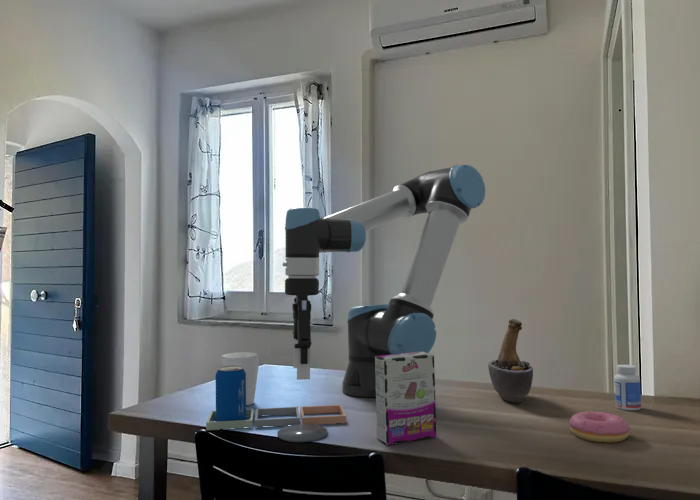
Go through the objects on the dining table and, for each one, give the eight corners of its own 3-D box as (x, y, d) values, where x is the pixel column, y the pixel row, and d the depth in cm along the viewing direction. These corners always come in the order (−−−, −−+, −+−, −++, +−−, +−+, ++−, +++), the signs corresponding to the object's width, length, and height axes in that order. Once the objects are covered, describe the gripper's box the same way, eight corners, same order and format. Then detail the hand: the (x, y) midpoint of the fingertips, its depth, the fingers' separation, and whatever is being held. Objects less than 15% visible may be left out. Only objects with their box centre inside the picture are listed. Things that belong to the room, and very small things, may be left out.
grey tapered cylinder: (250, 408, 134) (250, 358, 134) (215, 407, 136) (215, 357, 136) (264, 399, 143) (263, 352, 143) (230, 398, 144) (230, 351, 145)
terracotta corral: (341, 411, 130) (341, 404, 130) (346, 423, 121) (346, 415, 121) (300, 413, 129) (300, 406, 129) (302, 425, 119) (302, 417, 119)
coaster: (324, 425, 119) (324, 423, 119) (329, 440, 109) (329, 437, 109) (277, 428, 117) (277, 425, 118) (277, 443, 108) (277, 440, 108)
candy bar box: (424, 431, 114) (422, 350, 115) (437, 438, 110) (435, 354, 110) (374, 438, 110) (373, 354, 110) (386, 446, 105) (385, 358, 106)
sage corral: (253, 415, 127) (253, 408, 127) (252, 428, 118) (252, 420, 118) (211, 417, 126) (211, 410, 126) (206, 430, 117) (206, 422, 117)
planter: (524, 410, 129) (522, 323, 129) (465, 398, 142) (463, 319, 142) (556, 399, 139) (555, 319, 139) (498, 389, 151) (497, 314, 152)
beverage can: (231, 428, 118) (231, 371, 118) (209, 424, 121) (209, 368, 121) (252, 421, 123) (251, 366, 123) (230, 417, 127) (230, 364, 127)
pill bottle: (644, 407, 130) (643, 365, 131) (637, 412, 127) (636, 369, 127) (619, 403, 134) (618, 363, 134) (611, 408, 130) (610, 366, 130)
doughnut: (643, 442, 106) (643, 420, 107) (595, 448, 103) (594, 425, 103) (602, 426, 117) (601, 406, 117) (557, 431, 114) (557, 410, 114)
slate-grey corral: (298, 413, 129) (297, 406, 129) (299, 425, 119) (299, 418, 119) (256, 415, 127) (256, 408, 128) (254, 427, 118) (254, 420, 118)
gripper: (282, 276, 136) (282, 364, 136) (287, 278, 112) (286, 385, 111) (313, 276, 138) (313, 363, 137) (324, 278, 113) (324, 384, 112)
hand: (301, 373), depth 124 cm, fingers open, 13 cm apart
